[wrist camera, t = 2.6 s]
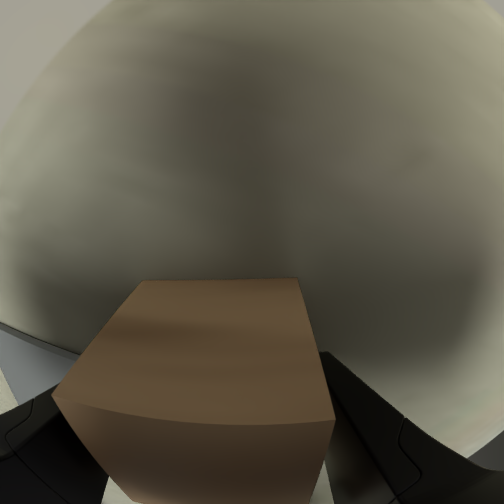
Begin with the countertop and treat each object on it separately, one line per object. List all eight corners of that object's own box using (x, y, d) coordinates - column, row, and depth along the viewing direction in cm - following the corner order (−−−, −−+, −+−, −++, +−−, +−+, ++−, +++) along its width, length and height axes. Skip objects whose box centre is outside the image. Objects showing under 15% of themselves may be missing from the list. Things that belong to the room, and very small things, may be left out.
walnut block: (291, 390, 9) (304, 514, 5) (169, 388, 10) (132, 500, 5) (296, 276, 8) (335, 419, 3) (143, 279, 8) (51, 394, 3)
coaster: (140, 463, 12) (138, 468, 11) (31, 418, 12) (28, 422, 11) (114, 365, 9) (110, 372, 9) (-13, 316, 9) (-18, 319, 9)
